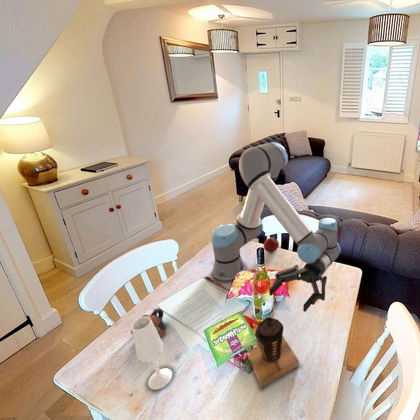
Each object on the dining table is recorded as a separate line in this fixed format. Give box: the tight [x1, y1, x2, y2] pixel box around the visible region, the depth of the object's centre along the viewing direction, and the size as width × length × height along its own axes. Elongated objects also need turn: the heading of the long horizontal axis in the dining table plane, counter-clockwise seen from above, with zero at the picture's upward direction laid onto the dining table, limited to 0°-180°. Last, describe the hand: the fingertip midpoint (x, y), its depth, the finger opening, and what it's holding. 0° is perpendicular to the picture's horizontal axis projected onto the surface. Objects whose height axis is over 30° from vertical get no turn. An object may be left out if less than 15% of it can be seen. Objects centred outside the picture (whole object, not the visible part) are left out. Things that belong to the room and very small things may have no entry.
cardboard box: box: [248, 336, 300, 389], centre depth 89 cm, size 13×13×3 cm
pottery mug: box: [130, 308, 167, 338], centre depth 99 cm, size 12×10×8 cm
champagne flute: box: [130, 316, 173, 391], centre depth 78 cm, size 7×7×24 cm
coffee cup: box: [254, 316, 284, 363], centre depth 86 cm, size 9×8×13 cm
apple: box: [263, 237, 280, 253], centre depth 146 cm, size 8×8×8 cm
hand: (286, 300), depth 89 cm, fingers open, 13 cm apart
